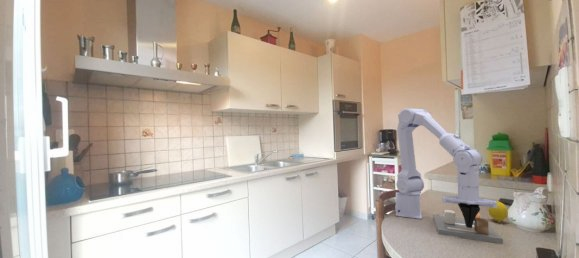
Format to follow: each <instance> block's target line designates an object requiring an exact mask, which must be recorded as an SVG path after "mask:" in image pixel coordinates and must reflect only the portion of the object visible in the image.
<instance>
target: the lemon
mask: <svg viewBox="0 0 579 258" xmlns="http://www.w3.org/2000/svg"><path fill="white" fill-rule="evenodd" d="M495 201H496V202H497V208H492V207H488V213H489V216H490V217H491V218H492V219H493V220H495V221H496V222H497V223H499V222H501V221H504V220H506V219H507V218H508V214H509V213H508V208H507V206H506V205H505V203H503V202H501V201H499V200H495Z"/></svg>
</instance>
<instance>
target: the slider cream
mask: <svg viewBox="0 0 579 258" xmlns="http://www.w3.org/2000/svg"><path fill="white" fill-rule="evenodd" d="M443 216H444V221H445V223H447V224H455V225H456V223H455V217H456V212H455V211H454V210H452V209H444V210H443Z"/></svg>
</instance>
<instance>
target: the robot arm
mask: <svg viewBox="0 0 579 258" xmlns="http://www.w3.org/2000/svg"><path fill="white" fill-rule="evenodd" d="M397 117H398V125H397V139H398V147H399V156H400V165H401V166H400V167H401V170H400V171H399V172H398V173H397V176H396V177H397V180H396V188H397V190H398V191H399V192H398V191H396V192H395V206H394V210H395V216H397V217H404V218H410V219H412V218H413V219H419V220H422V219H423V215H422V211H421V194H422V191H423V189H424V188H425V183H424V180H423V178H422V174H421V173H420V172H419V171H418V169H417V165H416V155H415V149H414V148H415V147H414V138H413V132H414V131H415V129H417V128H418V127H420V126H423V127H424V128H425V129H426V130H428V131H429V132H430V133H431V134H433V135H434V136H435V137H436V138H437V139H439V141H438V142H439V145H440V146H441V147H442V148H443V149H444V150H445V151H447V153H449V155H450V156H452V157H453V158H452V160H453V163H454V165H456V171H457V195H455V196H451V195H449V196H446V195H442V203H443V204H457V205H458V207H459V209H460V211H461V213H462V216H463V218H464V220H465V225H466V227H468V228H472V225H473V222H474V219H475V217H476V215H477V214H478V213H479V212H480V210H481V208H480V207H485V208H489V207H492V208H497V202H496V201H497V200H491V199H483V198H480V171H479V170H480V168H479V167H480V165H481V164H482V162H483V156H482V154H481V153H480V151H479V150H478V149H475V148H471V146H470V145H469V144H466V143H465V142H464V141H463V140H462V139H460V135H458V134H456V133H455V134H454V133H453V132H450V133H448V132H447V131H446V130H445V128H443V127H442V126H441V125H440V123H438V122H437V121H436V120H435V119H434V117H432V115H431V113H430V112H428V111H427V110H426V109H424V108H409V107H405V108H403V109H402V110H401V111H400V112H399V114H398V115H397Z"/></svg>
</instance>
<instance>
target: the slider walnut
mask: <svg viewBox="0 0 579 258" xmlns="http://www.w3.org/2000/svg"><path fill="white" fill-rule="evenodd" d="M488 223H489V221H488V219H486V218H482V217H480V218H475V219H474V230H475V231H476V232H477V233H481V234H488V235H489V230H488Z"/></svg>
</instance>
